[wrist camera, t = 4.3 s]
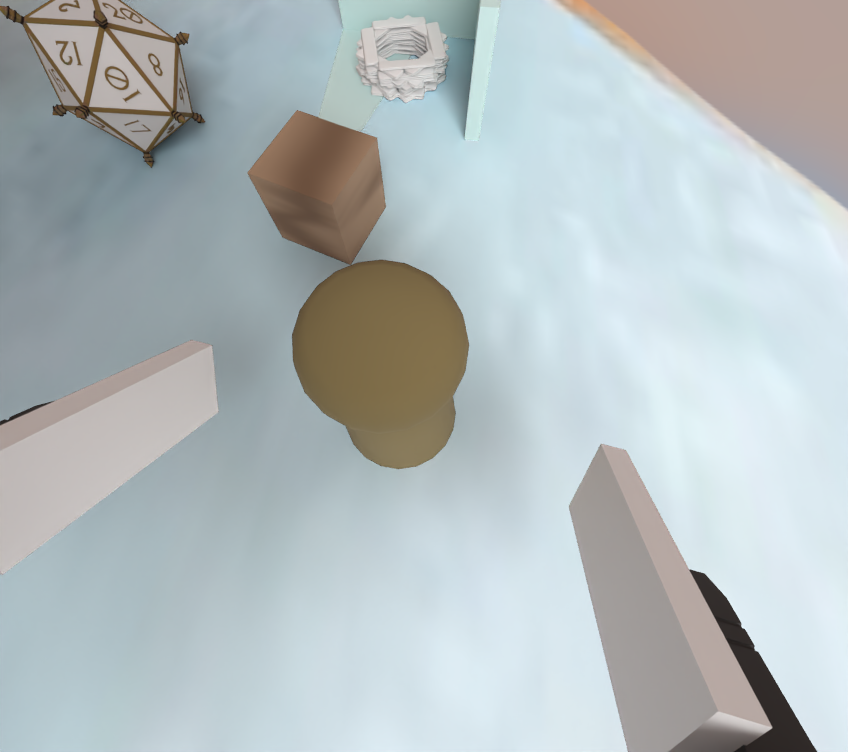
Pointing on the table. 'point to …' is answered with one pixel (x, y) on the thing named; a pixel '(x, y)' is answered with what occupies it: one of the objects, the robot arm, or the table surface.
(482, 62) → the l-shaped corner panel
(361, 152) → the walnut block
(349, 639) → the table surface
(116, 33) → the game die
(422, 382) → the cork
